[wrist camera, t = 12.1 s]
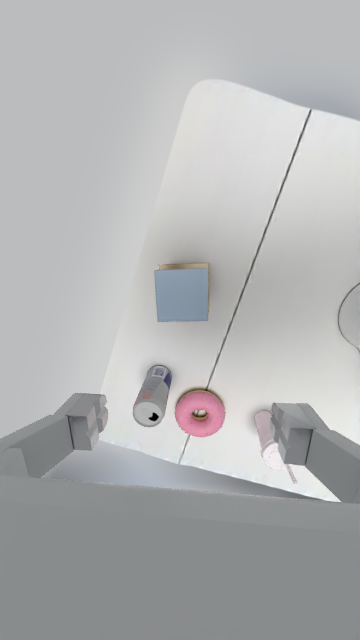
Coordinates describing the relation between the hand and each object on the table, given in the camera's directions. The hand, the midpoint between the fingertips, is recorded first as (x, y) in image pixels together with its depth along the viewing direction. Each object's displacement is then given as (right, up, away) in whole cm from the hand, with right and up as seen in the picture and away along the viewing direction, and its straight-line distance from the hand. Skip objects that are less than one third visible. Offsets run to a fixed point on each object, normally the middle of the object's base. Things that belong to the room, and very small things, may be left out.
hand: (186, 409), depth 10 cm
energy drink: (-5, -8, +35) cm, 36 cm away
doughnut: (+4, -16, +36) cm, 40 cm away
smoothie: (+18, -17, +36) cm, 44 cm away
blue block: (0, +9, +19) cm, 21 cm away
